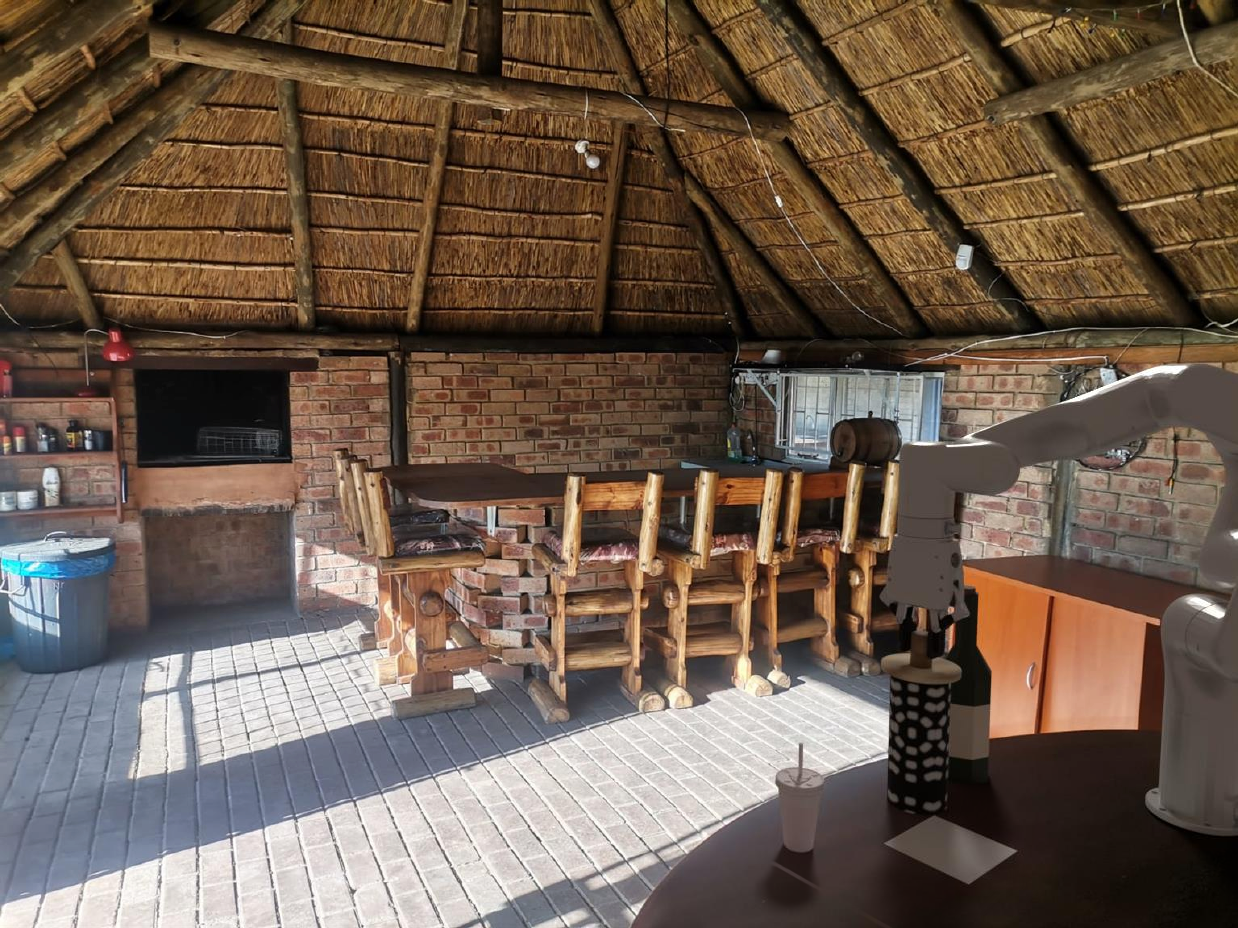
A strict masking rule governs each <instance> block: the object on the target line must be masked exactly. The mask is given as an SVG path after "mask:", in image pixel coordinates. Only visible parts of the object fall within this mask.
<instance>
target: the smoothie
mask: <svg viewBox="0 0 1238 928" xmlns="http://www.w3.org/2000/svg"><path fill="white" fill-rule="evenodd" d="M803 757H804V743H803V742H799V743H798V763H797V764H798V766H789V767H785V768H783V769H780V770H778V771H777V772H776V774H775V780H774V784H775V786H776V787H777V789H778V790H777V791H778V798H779V800H778V801H779V809H780V810H779V811H780V816H781V818H780V819H781V826H782V837H783V845H784V847H785V848H787V849H788V850H789V851H791V852H796V853H807V852H811V851H812V850H813V848H814V845H815V844H814V842H815V837H816V830H817V829H816V828H817V824H818V823H817V822H818V817H819V816H818V815H819V810H820V803H821V796H822V792H823V791H824V789H825V788H826V787H825V778H824V776H823V775H822V774H820V773H819V771H816V770H814V769H810V768H807V767H803V765H804V764H803V762H804V758H803Z"/></svg>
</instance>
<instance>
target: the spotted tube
mask: <svg viewBox="0 0 1238 928" xmlns="http://www.w3.org/2000/svg"><path fill="white" fill-rule="evenodd" d="M950 698H951V683H948V684H923V683H916V682H910V681H906V680H902V679H898V678H896V677H893V676H891V675H889V709H888V710H889V711H888V713H889V715H888V743H887V744H888V747H887V748H888V749H887V750H888V751H887V785H886V786H887V787H886V798H887V799H886V800H887V801H888V802H889V803H890V805H891V806H893V807H894V808H897V809H898V810H899V811H903V812H906V813H908V814H909V813H910V814H914V815H919V816H920V815H921V816H931V815H933V816H935V815H938V814H942V813H943V812H944V811H946V809H947V808H948V786H949V785H948V783H949V780H948V760H949V729H950Z"/></svg>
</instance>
